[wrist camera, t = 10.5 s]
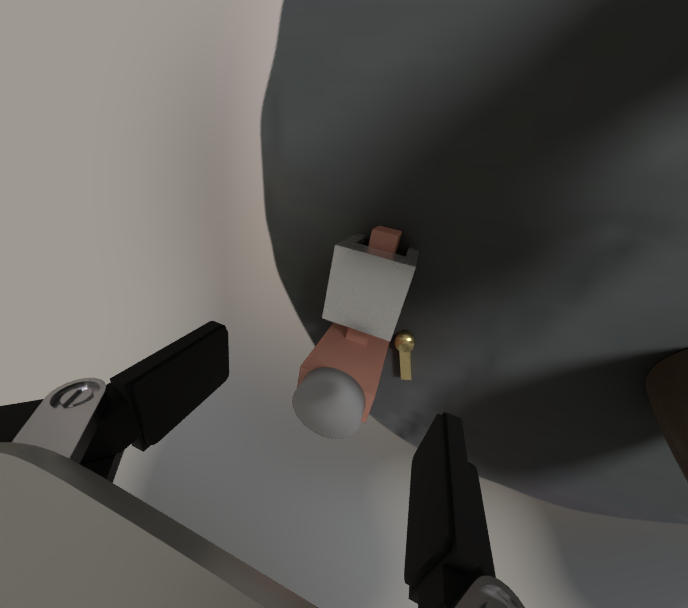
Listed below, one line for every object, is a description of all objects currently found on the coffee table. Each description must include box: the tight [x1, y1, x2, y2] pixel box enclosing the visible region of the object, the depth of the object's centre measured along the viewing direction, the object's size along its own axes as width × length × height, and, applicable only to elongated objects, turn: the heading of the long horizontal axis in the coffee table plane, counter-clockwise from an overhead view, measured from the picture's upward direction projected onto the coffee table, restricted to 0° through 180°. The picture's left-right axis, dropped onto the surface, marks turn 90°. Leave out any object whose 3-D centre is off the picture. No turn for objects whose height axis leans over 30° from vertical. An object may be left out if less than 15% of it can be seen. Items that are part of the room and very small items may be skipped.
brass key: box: [394, 330, 415, 380], centre depth 29 cm, size 6×2×1 cm, turn 8°
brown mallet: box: [292, 226, 402, 439], centre depth 23 cm, size 17×7×12 cm, turn 168°
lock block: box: [322, 234, 419, 341], centre depth 24 cm, size 7×7×7 cm
